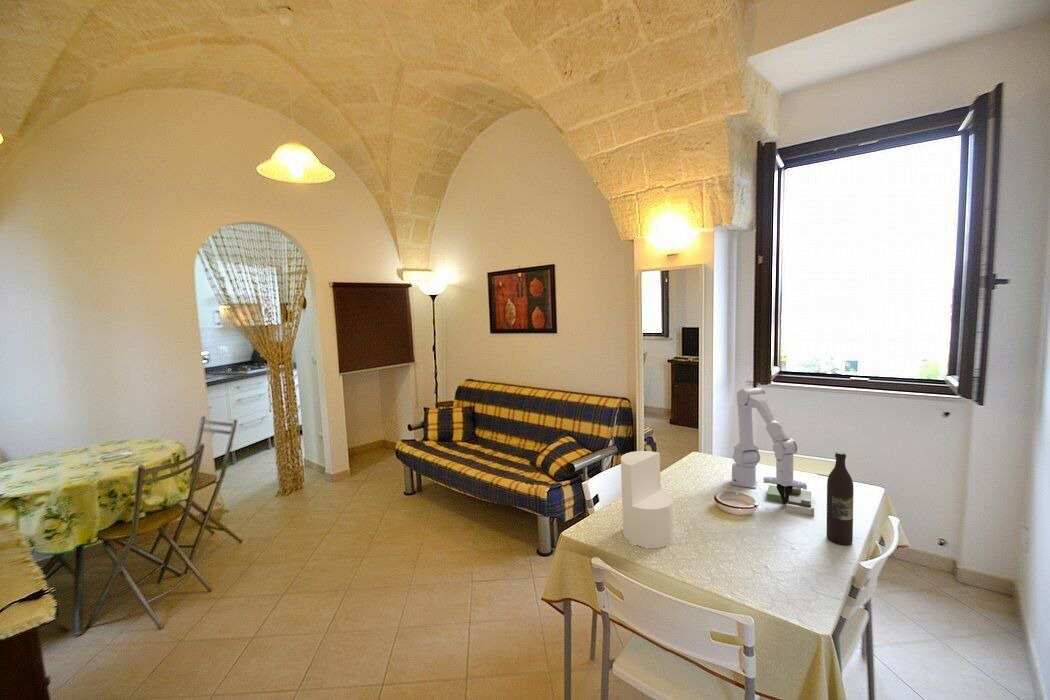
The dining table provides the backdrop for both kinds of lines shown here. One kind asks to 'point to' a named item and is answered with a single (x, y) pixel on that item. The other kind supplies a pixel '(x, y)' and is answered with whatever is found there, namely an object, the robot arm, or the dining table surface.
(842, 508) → the wine bottle
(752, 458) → the robot arm
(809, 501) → the grey stepped block
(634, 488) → the white stepped pillar
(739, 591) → the dining table surface
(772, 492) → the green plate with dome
